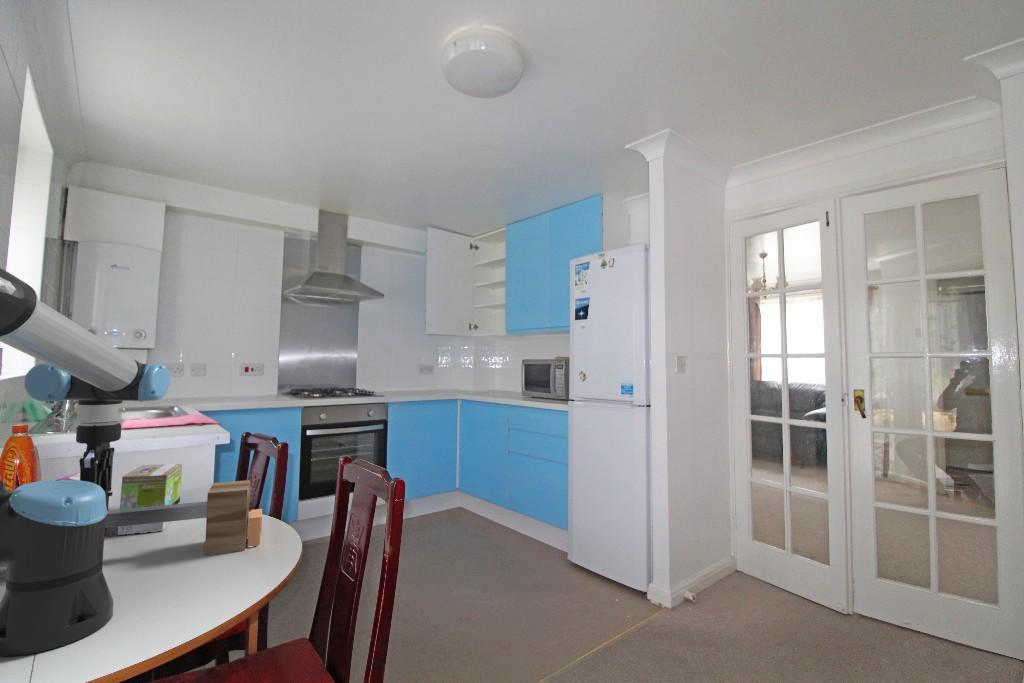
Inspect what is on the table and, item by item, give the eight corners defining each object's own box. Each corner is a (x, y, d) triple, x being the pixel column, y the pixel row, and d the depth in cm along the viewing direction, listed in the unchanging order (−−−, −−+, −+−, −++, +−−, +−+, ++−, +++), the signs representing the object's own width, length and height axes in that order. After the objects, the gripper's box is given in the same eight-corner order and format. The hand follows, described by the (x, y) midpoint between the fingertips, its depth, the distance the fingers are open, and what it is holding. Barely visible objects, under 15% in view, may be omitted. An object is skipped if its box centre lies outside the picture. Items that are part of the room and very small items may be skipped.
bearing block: (244, 550, 113) (247, 489, 114) (204, 555, 110) (207, 493, 110) (247, 536, 122) (250, 480, 123) (210, 540, 119) (213, 482, 119)
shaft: (213, 519, 113) (215, 485, 113) (81, 533, 103) (84, 495, 103) (215, 514, 117) (217, 481, 117) (88, 527, 107) (90, 490, 107)
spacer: (259, 546, 116) (260, 517, 116) (247, 548, 115) (248, 518, 115) (261, 536, 122) (262, 508, 122) (249, 538, 121) (251, 509, 121)
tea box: (164, 532, 124) (167, 473, 125) (116, 536, 120) (119, 476, 121) (180, 514, 138) (182, 462, 139) (137, 517, 134) (140, 464, 135)
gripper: (108, 427, 100) (102, 542, 99) (131, 418, 116) (126, 517, 115) (61, 429, 97) (54, 547, 96) (91, 419, 112) (86, 521, 111)
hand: (93, 531), depth 105 cm, fingers closed on shaft, 4 cm apart
